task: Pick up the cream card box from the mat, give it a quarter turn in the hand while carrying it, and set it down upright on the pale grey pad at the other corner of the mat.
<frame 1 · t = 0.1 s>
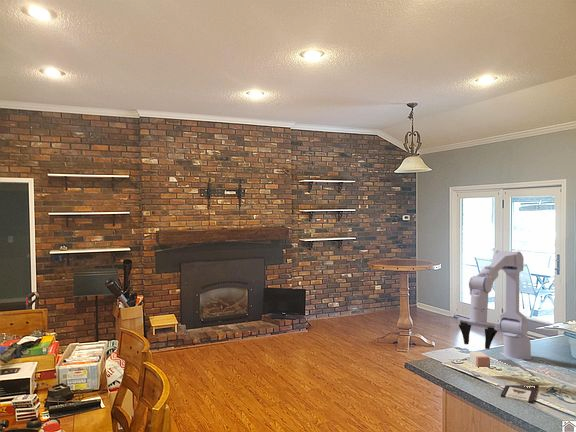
hand: (476, 346, 153), 10 cm above the counter, tool pointing down, fingers open, 7 cm apart
chocolate bar: (520, 392, 139), on the counter
card box: (479, 364, 162), point 1 cm above the counter, touching mat
mat: (493, 369, 159), on the counter
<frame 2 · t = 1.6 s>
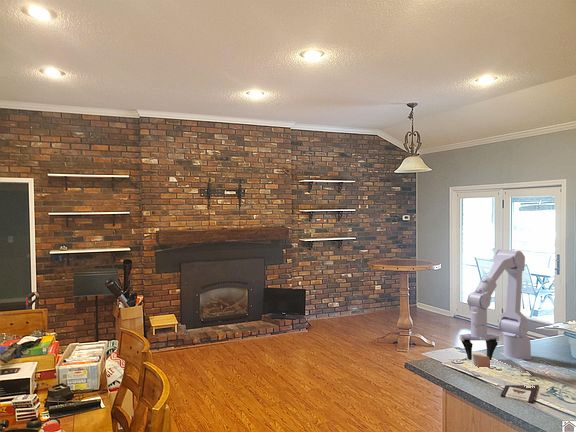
hand: (479, 359, 162), 3 cm above the counter, tool pointing down, fingers open, 7 cm apart
nothing on the counter moved.
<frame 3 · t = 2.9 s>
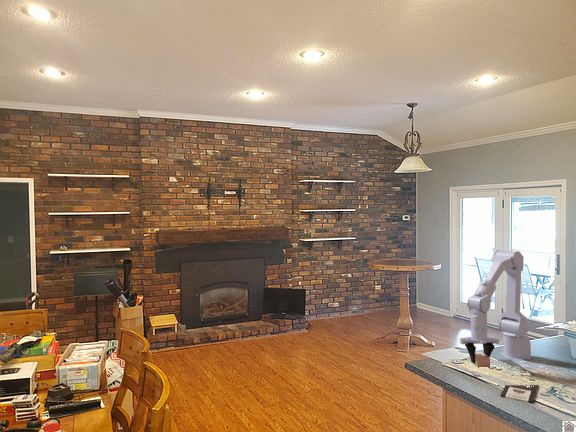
hand: (479, 362, 162), 2 cm above the counter, tool pointing down, fingers closed on card box, 4 cm apart
card box: (479, 364, 162), point 1 cm above the counter, touching gripper, mat
everything else where it was.
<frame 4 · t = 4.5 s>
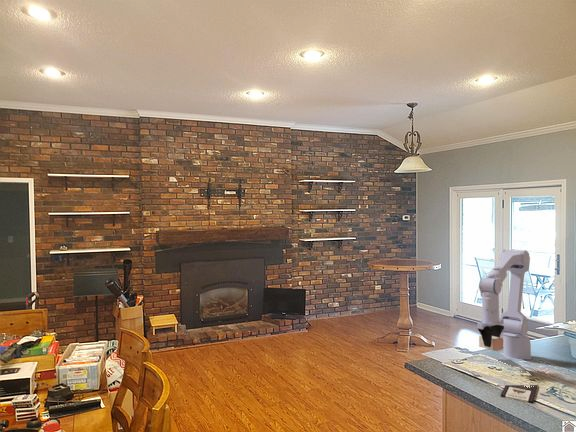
hand: (491, 345, 160), 9 cm above the counter, tool pointing down, fingers closed on card box, 4 cm apart
card box: (491, 347, 160), point 8 cm above the counter, touching gripper
everything else where it was.
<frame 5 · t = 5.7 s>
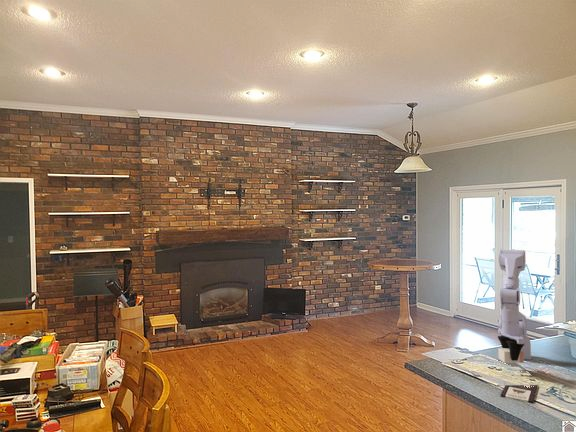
hand: (510, 358, 156), 5 cm above the counter, tool pointing down, fingers closed on card box, 4 cm apart
card box: (510, 360, 156), point 4 cm above the counter, touching gripper
everything else where it was.
when the fingers open (3 cm above the counter, at t = 6.5 s): card box drops 2 cm, resting on mat.
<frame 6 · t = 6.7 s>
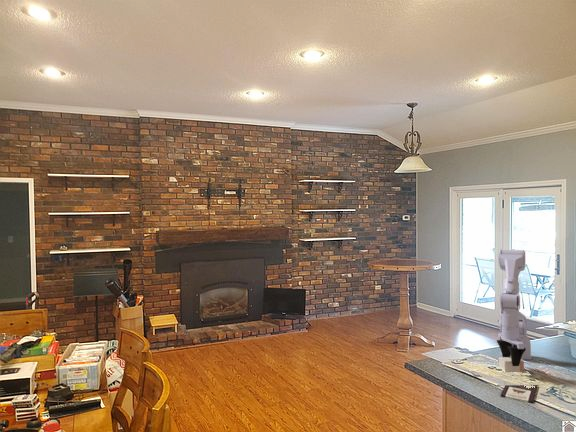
hand: (511, 362, 156), 3 cm above the counter, tool pointing down, fingers open, 6 cm apart
card box: (511, 369, 156), point 1 cm above the counter, touching mat
everything else where it was.
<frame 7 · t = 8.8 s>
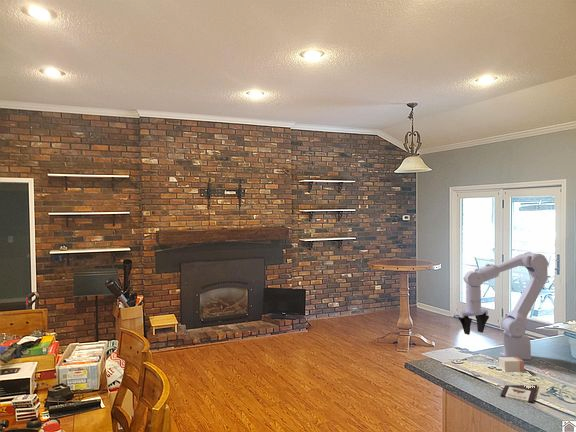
hand: (473, 333, 175), 9 cm above the counter, tool pointing down, fingers open, 7 cm apart
nothing on the counter moved.
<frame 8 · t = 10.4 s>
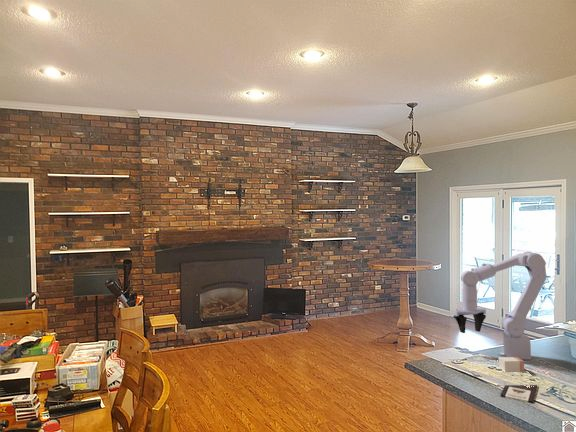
hand: (470, 331, 177), 9 cm above the counter, tool pointing down, fingers open, 7 cm apart
nothing on the counter moved.
at the end: card box 0.0 cm from the target spot, point 0.7 cm above the counter; card box tilted 0°; the gripper is holding nothing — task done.
